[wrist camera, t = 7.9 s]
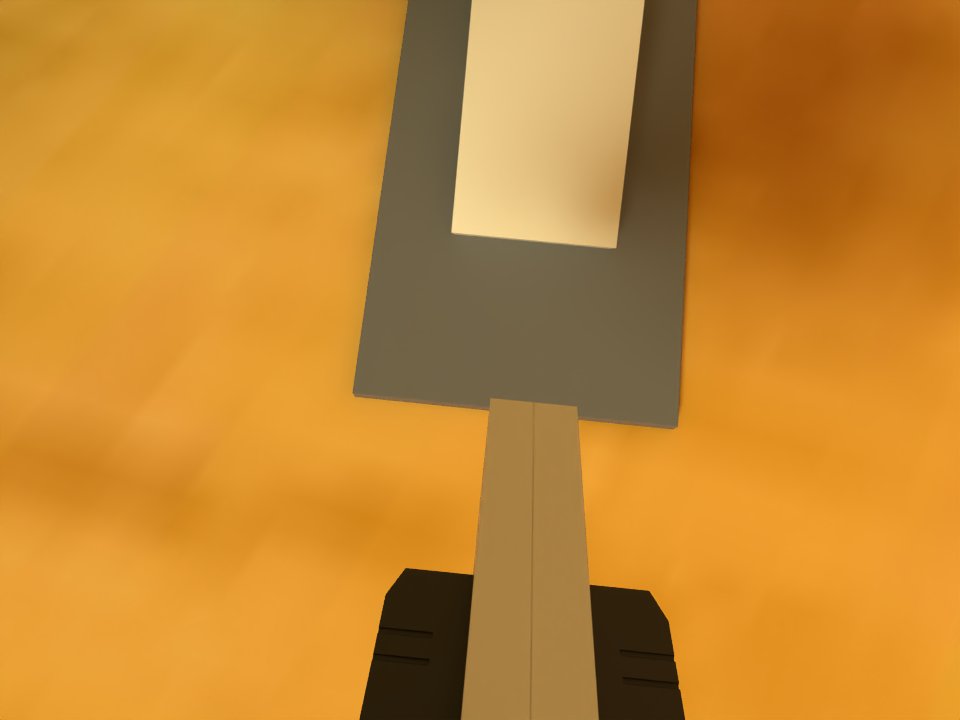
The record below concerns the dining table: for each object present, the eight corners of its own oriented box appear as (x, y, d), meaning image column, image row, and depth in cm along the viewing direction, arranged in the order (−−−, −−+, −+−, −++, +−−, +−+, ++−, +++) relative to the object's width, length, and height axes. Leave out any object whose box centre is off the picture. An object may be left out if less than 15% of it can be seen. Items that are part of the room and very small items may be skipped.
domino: (616, 247, 24) (656, -104, 23) (451, 232, 24) (482, -119, 23) (609, 248, 26) (646, -81, 24) (454, 234, 26) (483, -95, 25)
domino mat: (673, 429, 25) (677, 426, 24) (355, 396, 25) (352, 393, 25) (700, -149, 30) (704, -163, 29) (435, -173, 30) (434, -187, 30)
